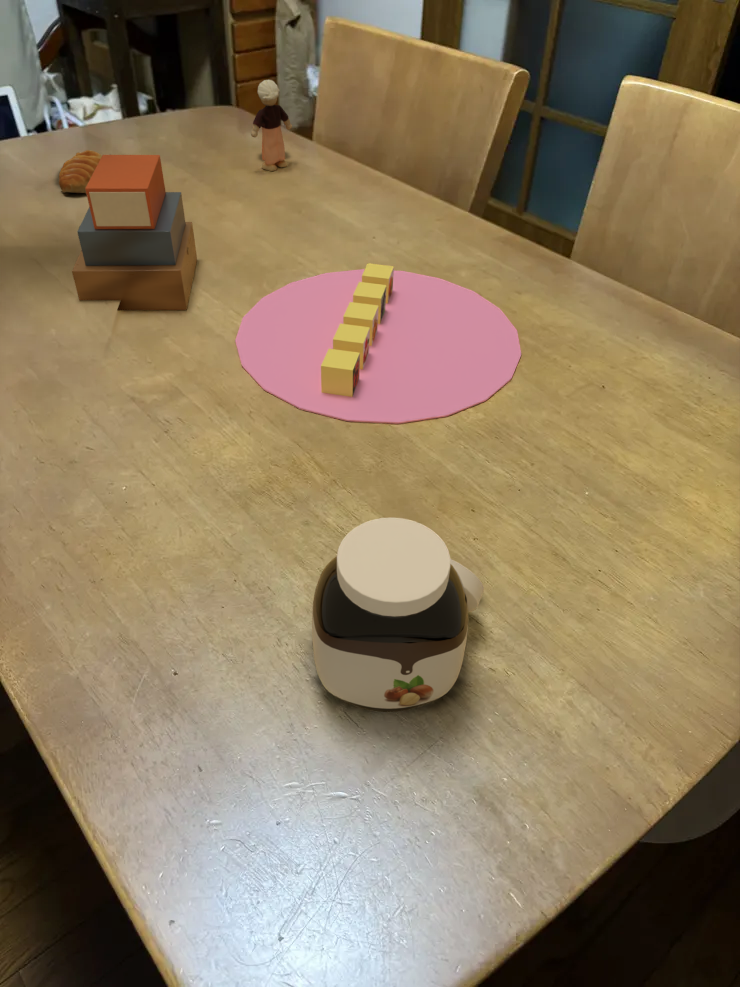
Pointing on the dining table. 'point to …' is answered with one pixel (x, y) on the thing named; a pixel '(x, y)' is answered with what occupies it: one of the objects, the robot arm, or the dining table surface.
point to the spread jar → (392, 617)
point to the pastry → (78, 171)
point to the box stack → (139, 261)
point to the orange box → (126, 192)
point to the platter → (378, 346)
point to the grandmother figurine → (271, 126)
